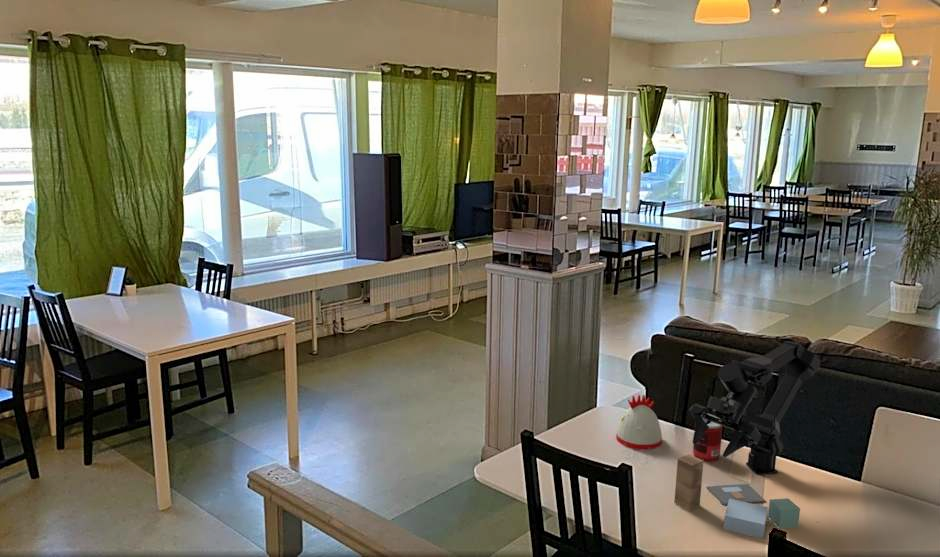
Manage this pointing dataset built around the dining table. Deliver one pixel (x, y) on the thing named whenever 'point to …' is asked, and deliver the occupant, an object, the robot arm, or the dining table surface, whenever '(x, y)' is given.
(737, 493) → the card
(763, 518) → the blue base block
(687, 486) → the walnut pillar
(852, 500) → the dining table surface
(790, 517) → the teal cube
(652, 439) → the kitchen timer
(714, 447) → the canned food
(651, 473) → the dining table surface
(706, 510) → the dining table surface
